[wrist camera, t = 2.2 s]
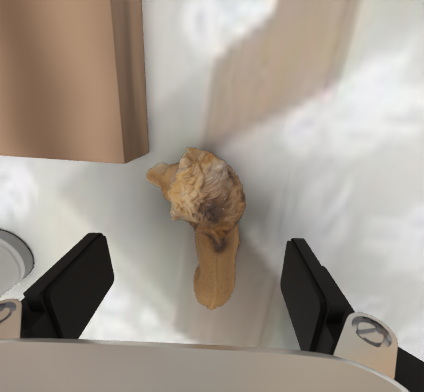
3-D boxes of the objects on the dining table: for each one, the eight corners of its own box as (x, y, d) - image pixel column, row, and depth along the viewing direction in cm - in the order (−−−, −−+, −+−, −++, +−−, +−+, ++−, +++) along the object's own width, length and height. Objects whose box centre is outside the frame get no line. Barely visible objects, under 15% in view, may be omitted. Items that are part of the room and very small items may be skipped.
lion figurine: (169, 143, 18) (119, 166, 9) (233, 131, 17) (241, 145, 9) (203, 283, 23) (190, 381, 14) (253, 278, 22) (271, 377, 14)
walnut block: (137, -116, 13) (88, -250, 8) (150, 151, 18) (124, 163, 14) (-22, -120, 13) (-157, -249, 9) (37, 144, 19) (-25, 153, 14)
